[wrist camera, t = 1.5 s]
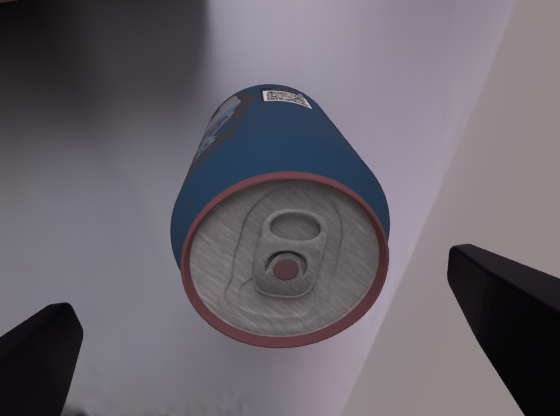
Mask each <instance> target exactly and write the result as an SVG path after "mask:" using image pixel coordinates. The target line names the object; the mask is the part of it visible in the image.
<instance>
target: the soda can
mask: <svg viewBox="0 0 560 416" xmlns="http://www.w3.org/2000/svg"><path fill="white" fill-rule="evenodd" d="M389 231H390V217H389V209H388V205H387V201H386V197H385V194H384V192H383V190H382V187H381V185H380V184H379V182H378V180H377V179H376V177H375V176H374V174H373V173H372V171H371V170H370V169H369V168H368V166H367V165H366V164H365V163H364V161H363V160H362V159H361V158H360V156H359V155H358V154H357V153H356V151H355V150H354V149H353V148H352V146H351V145H350V144H349V143H348V141H347V140H346V139H345V138H344V136H343V135H342V134H341V133H340V131H339V130H338V129H337V128H336V126H335V125H334V124H333V123H332V121H331V120H330V119H329V118H328V116H327V115H326V114H325V113H324V111H323V110H322V109H321V108H320V106H319V105H318V104H317V103H316V102H315V101H313V100H312V99H311V98H310V97H308V96H307V95H305V94H304V93H302V92H300V91H298V90H296V89H293V88H290V87H287V86H282V85H274V84H265V85H257V86H253V87H249V88H246V89H244V90H241V91H239V92H237V93H236V94H234V95H232V96H231V97H229V98H228V99H227V100H226V101H225V102H224V103H223V104H221V106H220V107H219V108H218V109H217V110H216V112H215V113H214V115H213V116H212V118H211V120H210V122H209V124H208V126H207V129H206V131H205V133H204V136H203V138H202V140H201V143H200V145H199V148H198V150H197V152H196V155H195V157H194V159H193V162H192V164H191V166H190V169H189V171H188V174H187V176H186V178H185V181H184V183H183V185H182V188H181V190H180V192H179V195H178V197H177V200H176V202H175V205H174V209H173V213H172V218H171V230H170V234H171V244H172V249H173V253H174V257H175V260H176V262H177V265H178V267H179V269H180V271H181V276H182V282H183V286H184V289H185V291H186V294H187V296H188V298H189V300H190V302H191V304H192V305H193V307H194V308H195V310H196V311H197V312H198V314H199V315H200V316H201V317H202V318H203V319H204V320H205V321H206V322H207V323H208V324H209V325H211V326H212V327H213V328H215V329H216V330H218V331H219V332H221V333H222V334H224V335H226V336H228V337H230V338H232V339H235V340H237V341H240V342H243V343H246V344H250V345H254V346H259V347H267V348H292V347H300V346H305V345H309V344H313V343H317V342H320V341H322V340H325V339H328V338H330V337H332V336H334V335H336V334H338V333H340V332H342V331H343V330H345V329H347V328H348V327H350V326H351V325H353V324H354V323H355V322H357V321H358V320H359V319H360V318H361V317H362V316H363V315H365V314H366V313H367V311H368V310H369V309H370V308H371V307H372V305H373V304H374V303H375V301H376V299H377V298H378V296H379V294H380V292H381V290H382V288H383V285H384V282H385V279H386V275H387V271H388V265H389V249H388V239H389Z"/></svg>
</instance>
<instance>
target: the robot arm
mask: <svg viewBox="0 0 560 416" xmlns="http://www.w3.org/2000/svg"><path fill="white" fill-rule="evenodd" d="M447 278H448V282H449V285H450V287H451V289H452V291H453V293H454V295H455V297H456V299H457V301H458V303H459V305H460V307H461V309H462V311H463V313H464V315H465V318H466V320H467V322H468V324H469V326H470V328H471V330H472V332H473V334H474V335H475V337H476V339H477V341H478V342H479V344H480V346H481V348H482V349H483V351H484V352H485V354H486V356H487V357H488V359H489V360H490V362H491V363H492V365H493V367H494V368H495V370H496V371H497V373H498V374H499V376H500V378H501V379H502V381H503V382H504V384H505V385H506V387H507V388H508V390H509V391H510V393H511V395H512V396H513V398H514V400H515V401H516V403H517V404H518V406H519V407H520V409H521V410H522V412H523V413H524V415H525V416H560V279H559V278H557V277H554V276H552V275H549V274H546V273H544V272H541V271H539V270H536V269H534V268H531V267H528V266H526V265H523V264H521V263H518V262H515V261H513V260H510V259H508V258H505V257H503V256H500V255H497V254H495V253H492V252H490V251H487V250H484V249H482V248H479V247H477V246H474V245H472V244H462V245H456V246H453V247H452V248H450V251H449V260H448V271H447ZM82 340H83V329H82V326H81V324H80V322H79V320H78V318H77V316H76V313H75V311H74V309H73V307H72V306H71V305H70V304H69V303H67V302H64V303H57V304H51V305H48V306H46V307H45V308H43V309H42V310H40V311H39V312H37V313H36V314H34V315H33V316H31V317H30V318H28V319H27V320H25V321H24V322H22V323H21V324H19V325H18V326H16V327H15V328H13V329H12V330H10V331H9V332H7V333H6V334H4V335H3V336H1V337H0V416H61V413H62V410H63V407H64V405H65V402H66V399H67V395H68V392H69V388H70V385H71V381H72V377H73V374H74V370H75V366H76V363H77V359H78V355H79V351H80V348H81V344H82Z"/></svg>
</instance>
